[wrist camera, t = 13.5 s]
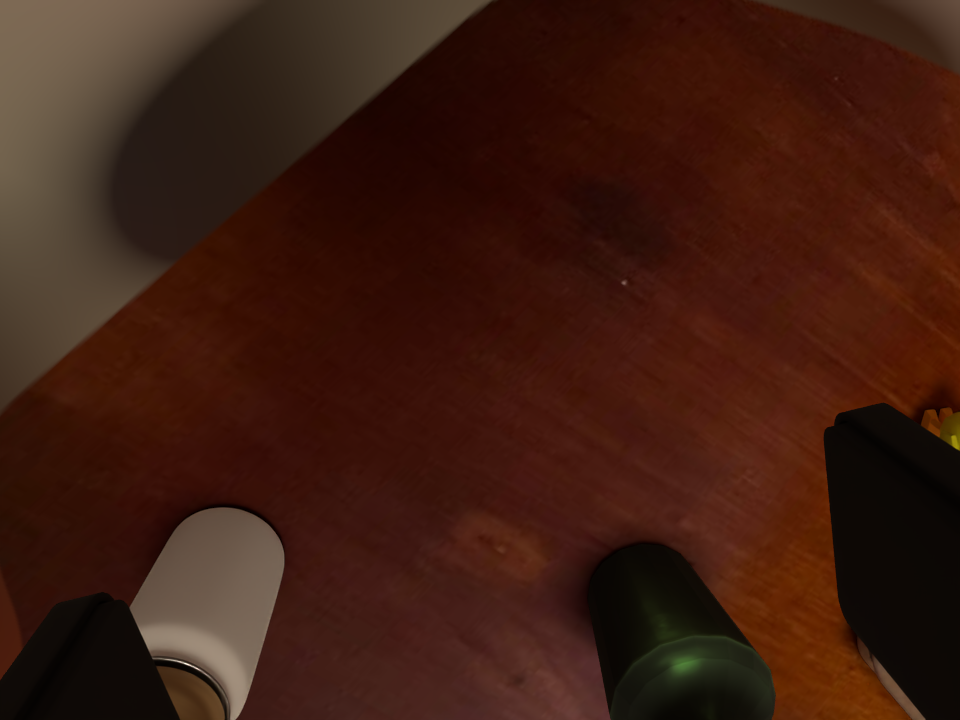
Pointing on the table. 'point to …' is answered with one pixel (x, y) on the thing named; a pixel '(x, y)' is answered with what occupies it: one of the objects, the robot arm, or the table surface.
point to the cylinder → (191, 695)
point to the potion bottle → (671, 643)
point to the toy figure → (943, 425)
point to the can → (213, 600)
